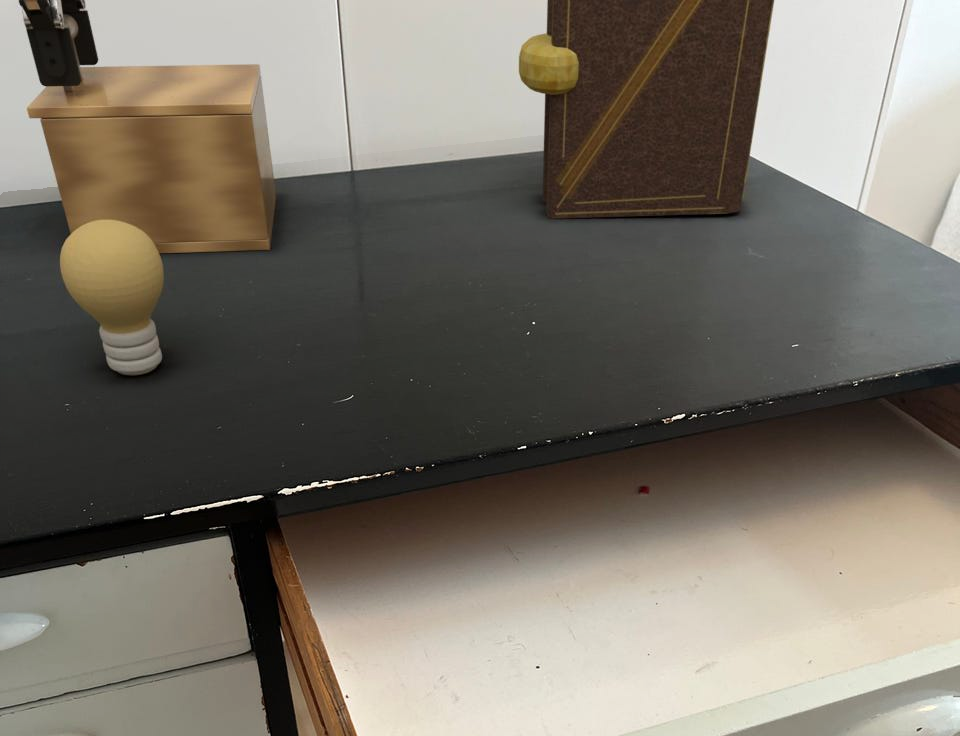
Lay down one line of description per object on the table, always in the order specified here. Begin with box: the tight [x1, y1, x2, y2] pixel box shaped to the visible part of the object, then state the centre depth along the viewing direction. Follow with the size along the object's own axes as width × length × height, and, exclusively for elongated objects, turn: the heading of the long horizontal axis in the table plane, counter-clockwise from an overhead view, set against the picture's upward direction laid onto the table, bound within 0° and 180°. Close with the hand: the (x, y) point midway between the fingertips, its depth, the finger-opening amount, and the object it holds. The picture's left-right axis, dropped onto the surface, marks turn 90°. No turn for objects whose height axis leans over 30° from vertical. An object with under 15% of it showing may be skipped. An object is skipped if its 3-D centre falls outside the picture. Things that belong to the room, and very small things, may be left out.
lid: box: [26, 14, 262, 119], centre depth 81 cm, size 18×15×6 cm
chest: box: [39, 74, 277, 254], centre depth 87 cm, size 17×15×11 cm
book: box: [518, 0, 775, 220], centre depth 87 cm, size 22×8×25 cm, turn 92°
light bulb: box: [59, 220, 165, 376], centre depth 65 cm, size 6×6×10 cm
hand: (70, 72), depth 81 cm, fingers open, 7 cm apart
